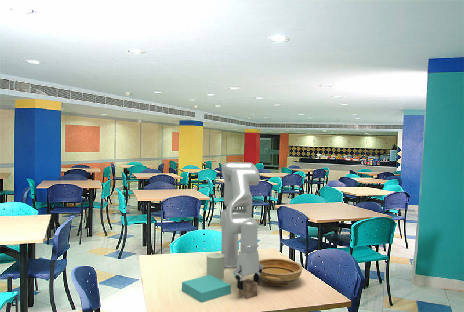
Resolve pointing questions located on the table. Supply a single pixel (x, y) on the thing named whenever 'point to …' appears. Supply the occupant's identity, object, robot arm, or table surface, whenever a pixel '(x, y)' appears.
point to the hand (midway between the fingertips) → (248, 286)
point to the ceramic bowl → (279, 271)
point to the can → (215, 265)
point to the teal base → (206, 288)
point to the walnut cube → (249, 289)
